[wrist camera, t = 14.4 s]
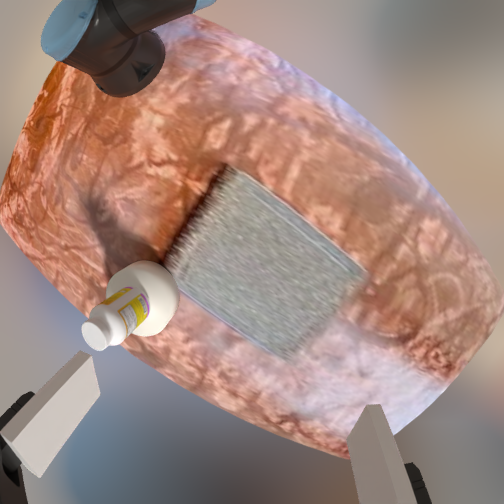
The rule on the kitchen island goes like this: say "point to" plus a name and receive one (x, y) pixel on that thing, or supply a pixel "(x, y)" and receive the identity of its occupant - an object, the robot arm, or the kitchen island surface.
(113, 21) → the robot arm
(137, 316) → the supplement bottle
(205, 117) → the kitchen island surface
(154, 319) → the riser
